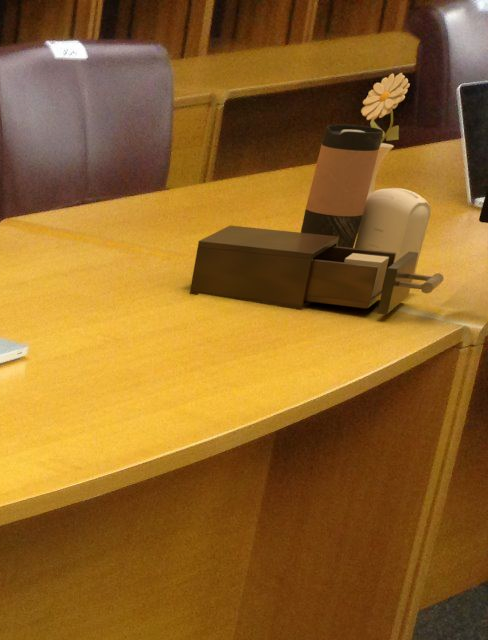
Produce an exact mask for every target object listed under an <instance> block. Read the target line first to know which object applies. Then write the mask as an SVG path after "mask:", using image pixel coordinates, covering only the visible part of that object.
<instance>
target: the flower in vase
mask: <svg viewBox="0 0 488 640" xmlns="http://www.w3.org/2000/svg"><path fill="white" fill-rule="evenodd" d="M410 85H411V83H409V79H408V78H407V77H406V76H405V75H404V74H403V72H400V73H399V74H396V75H395V74H394V73H391V74H389V75H388V77H383V78H382V79H381V82H376V83H374V84H373V86H372V88H373V89H370V90H369V91H368V95H367V96H366V98H364V99H363V100H362V104H363V107H362V108H361V110H360V113H361V114H362V116H363V117H366V121H370V123H369V124H370V127H373V128H378V129H381V130H383V129H382V128H381V127H380V126H379V125H378V124H377V123H376V122H375V120H376V119H377V118H378V119H381V118H383V117H385V116H386V115H389V114H390V124H389V127H388V129H387V131H386V132H385V131H384V130H383V135H382V139H381V143H380V147H379V151H378V155H377V160H376V164H375V168H374V172H373V176H372V180H371V184H370V188H369V192H368V196H367V199H368V197H369V196H370V195H371V194H372V193H373V192H374V191H375V185H376V179H377V176H378V173H379V170H380V168H381V165H382V163H383V161H384V158H385V157H386V156H387V154H388V153H389V152H390V151H391V150H392V149H393V148H394V147H395V146H394V145H393V144H391V143H384V140H386V141H387V142H388V141H389V142H390V141H396V140H399V139H400V138H399V131H400V126H399V125H395V126H393V124H394V112H393V110H395V109H396V108H397V107H398V105H399V103H401V102H402V101H404V100H405V98H406V96H405V95H406V94H407V93H408V89H409V88H410ZM366 201H367V200H366ZM362 215H363V214H362ZM359 227H360V226H359ZM358 231H359V230H358Z"/></svg>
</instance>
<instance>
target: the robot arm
mask: <svg viewBox="0 0 488 640" xmlns="http://www.w3.org/2000/svg"><path fill="white" fill-rule="evenodd" d="M478 221H479V222H480V223H484V224H488V188H487V189H486V192H485V195H484V198H483V202H482V206H481V210H480V213H479V217H478Z"/></svg>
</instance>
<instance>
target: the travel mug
mask: <svg viewBox="0 0 488 640" xmlns="http://www.w3.org/2000/svg"><path fill="white" fill-rule="evenodd" d="M381 129H382V128H381ZM381 129H378V128H373V127H371V126H365V125H356V124H329V125H326V127H325V130H324V134H323V137H322V141H321V145H320V149H319V154H318V157H317V161H316V166H315V169H314V173H313V178H312V181H311V185H310V189H309V192H308V193H309V194H308V198H307V201H306V205H305V210H304V214H303V218H302V225H301V229H300V233H309V234H319V235H328V236H338V237H339V240H338V245H337V246H338V247H347V248H354V247H355V243H356V239H357V235H358V230H359V226H360V223H361V219H362V214H363V212H364V208H365V204H366V200H367V196H368V192H369V188H370V184H371V180H372V176H373V172H374V168H375V164H376V160H377V155H378V151H379V147H380V143H381V139H382V138H383V137H382V135H383V131H384V130H383V129H382V130H381Z"/></svg>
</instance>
